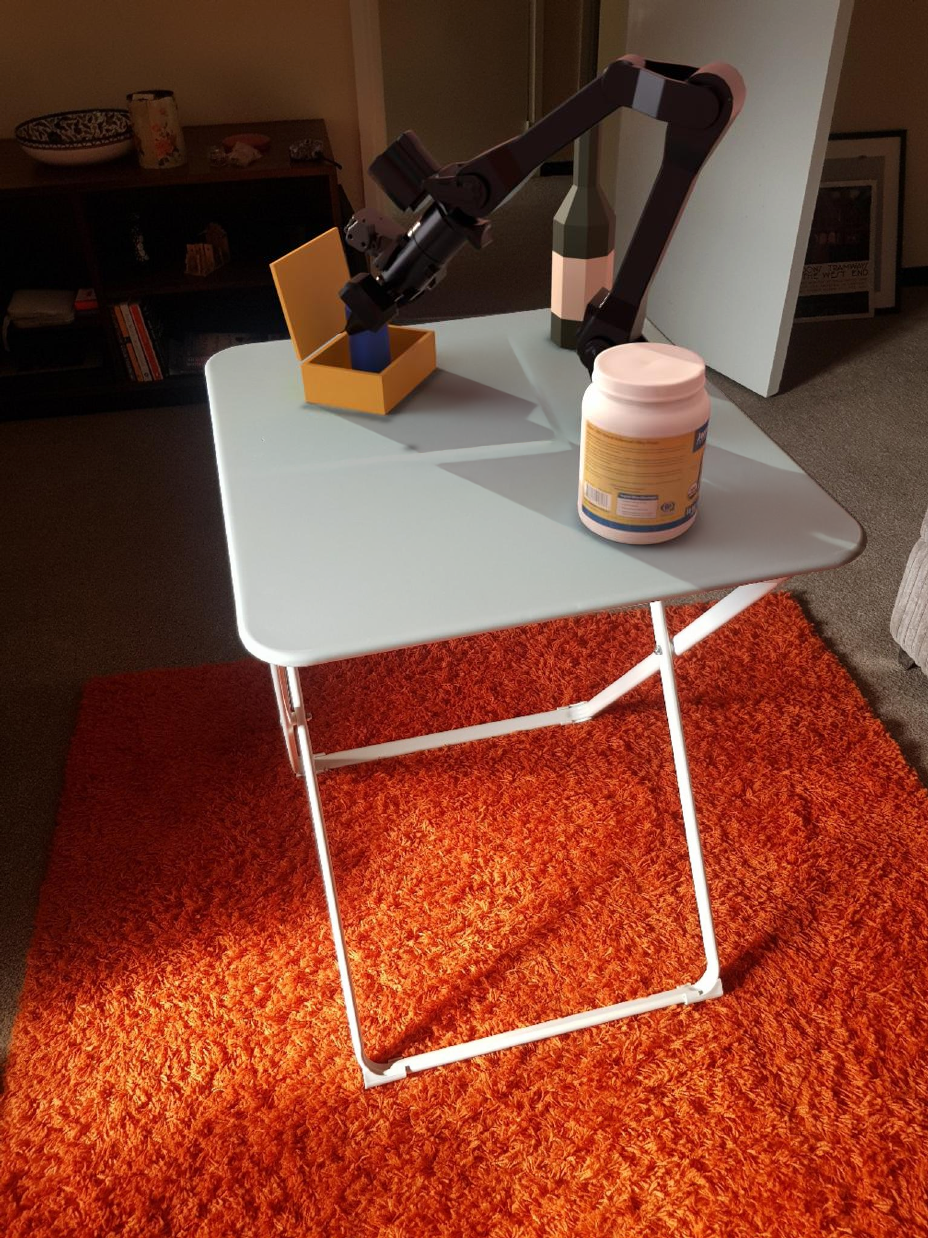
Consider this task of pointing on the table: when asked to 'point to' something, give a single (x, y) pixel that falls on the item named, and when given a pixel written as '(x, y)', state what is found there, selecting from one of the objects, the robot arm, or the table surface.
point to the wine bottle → (581, 242)
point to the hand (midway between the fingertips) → (358, 324)
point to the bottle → (369, 349)
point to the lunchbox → (366, 391)
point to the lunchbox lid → (313, 291)
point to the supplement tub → (643, 442)
